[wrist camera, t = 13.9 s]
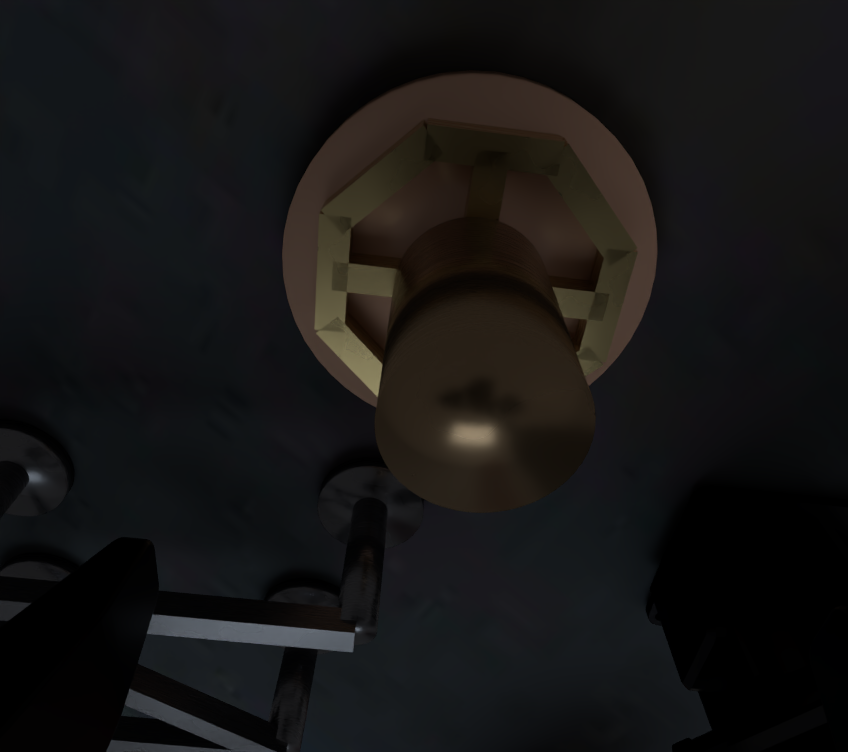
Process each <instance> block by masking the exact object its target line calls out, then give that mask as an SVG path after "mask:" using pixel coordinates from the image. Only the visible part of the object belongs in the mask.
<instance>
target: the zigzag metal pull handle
mask: <svg viewBox="0 0 848 752" xmlns="http://www.w3.org/2000/svg"><path fill="white" fill-rule="evenodd" d="M73 482H74V468H73V464H72V462H71V460H70V458H69V456H68V454H67V453H66V451H65V450H64V449H63V447H62V446H61V445H60V444H59V443H58V442H57V441H55V440H54V439H53V438H52V437H51V436H49V435H48V434H46V433H45V432H43V431H41V430H39V429H37V428H35V427H33V426H30V425H27V424H24V423H21V422H16V421H9V420H0V518H1V517H2V516H3V515H4V513H8V514H12V515H18V516H36V515H41V514H45V513H47V512H50V511H52V510H53V509H55V508H56V507H57V506H58V505H59V504H60V503H61V502H62V500H63V499H64V498H65V496H66V495H67V493H68V492H69V491H70V489H71V487H72V485H73ZM423 503H424V499H423V498H421V497H419V496H418V495H416V494H415V493H413V492H412V491H410V490H409V489H407V488H406V487H405V486H404V485H403V484H402V483H400V482H399V481H398V479H397V478H396V477H395V476H394V475H393V474H392V473H391V471H390V470H389V468H388V467H387V465H386V464H385V462H384V460H383V459H377V458H361V459H355V460H351V461H348V462H346V463H343V464H341V465H339V466H338V467H336V468H335V469H334V470H332V471H331V472H330V473H329V474H328V475H327V477H326V478H325V480H324V482H323V484H322V487H321V490H320V495H319V499H318V505H317V508H318V515H319V518H320V521H321V523H322V525H323V526H324V528H325V529H326V530H327V531H328V532H329V533H330V534H331V535H332V536H333V537H334V538H336V539H337V540H339V541H341V542H342V543H345V544H347V549H346V555H345V561H344V568H343V574H342V580H341V586H340V589H339V588H337V587H336V586H334V585H331V584H329V583H327V582H324V581H320V580H314V579H294V580H289V581H286V582H283V583H281V584H279V585H277V586H275V587H274V588H272V589H271V590H270V591H269V592H268V594H267V595H266V597H265V599H264V600H253V599H243V598H232V597H221V596H211V595H200V594H189V593H178V592H168V591H158V597H157V602H156V605H155V609H154V612H153V615H152V618H151V622H150V625H149V628H148V631H147V634H157V635H168V636H179V637H190V638H201V639H212V640H224V641H235V642H246V643H257V644H268V645H277V646H279V647H281V648H283V649H285V650H284V655H283V659H282V663H281V668H280V672H279V677H278V681H277V686H276V690H275V694H274V699H273V703H272V708H271V712H270V716H269V721H266V720H263V719H261V718H259V717H257V716H254V715H252V714H250V713H248V712H245V711H243V710H241V709H239V708H236V707H234V706H232V705H230V704H227V703H225V702H223V701H220V700H218V699H216V698H214V697H211V696H209V695H207V694H205V693H202V692H200V691H198V690H196V689H193V688H191V687H189V686H187V685H184V684H182V683H180V682H178V681H175V680H173V679H171V678H169V677H166V676H164V675H162V674H160V673H157V672H155V671H153V670H151V669H148V668H146V667H144V666H142V665H139V664H137V667H136V670H135V673H134V676H133V680H132V683H131V686H130V689H129V693H128V696H127V699H126V702H125V705H126V706H129V707H131V708H133V709H136V710H138V711H140V712H143V713H145V714H148V715H150V716H152V717H155V718H157V719H151V718H139V717H128V716H121V717H120V720H119V722H118V725H117V727H116V730H115V732H114V735H113V737H112V740H111V742H110V744H109V747H108V749H107V751H106V752H300V748H301V743H302V737H303V731H304V726H305V720H306V714H307V709H308V703H309V697H310V692H311V686H312V681H313V675H314V669H315V664H316V658H317V654H324V653H328V652H331V651H345V652H353V647H354V645H361V644H366V643H368V642H370V641H372V640H373V639H374V638H375V636H376V634H377V625H378V614H379V604H380V593H381V582H382V571H383V561H384V550H385V549H387V548H391V547H394V546H397V545H399V544H401V543H403V542H405V541H406V540H408V539H409V538H410V537H411V536H413V535H414V533H415V532H416V531H417V530H418V528H419V527H420V524H421V522H422V518H423ZM77 568H78V567H77V566H76V565H74V564H73V563H71V562H69V561H67V560H65V559H62V558H60V557H56V556H53V555H49V554H42V553H27V554H22V555H18V556H16V557H13V558H12V559H10V560H9V561H7V562H6V563H5V565H4V566H3V567H2V569H1V570H0V627H1V626H2V625H3V624H5V623H6V622H7V621H9V620H10V619H11V618H13V617H14V616H15V615H17V614H18V613H19V612H21V611H22V610H23V609H25V608H26V607H27V606H28V605H30V604H31V603H32V602H34V601H35V600H36V599H38V598H39V597H40V596H42V595H43V594H44V593H46V592H47V591H48V590H49V589H51V588H52V587H53V586H55V585H56V584H57V583H59V582H60V581H61V580H63V579H64V578H65V577H67V576H68V575H69V574H71V573H72V572H73V571H74V570H76V569H77Z"/></svg>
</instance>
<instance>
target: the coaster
mask: <svg viewBox="0 0 848 752" xmlns="http://www.w3.org/2000/svg"><path fill="white" fill-rule="evenodd" d="M428 118H432V119H440V120H448V121H456V122H464V123H472V124H480V125H487V126H495V127H503V128H511V129H519V130H527V131H535V132H543V133H551V134H558V135H560V136H561V137H564V138H565V139H566V141H567V142H568V143H569V145H570V146H571V148H572V149H573V151H574V152H575V154H576V155H577V157H578V158H579V160H580V161H581V163H582V164H583V166H584V167H585V169H586V170H587V172H588V173H589V175H590V177H591V178H592V180H593V181H594V183H595V184H596V186H597V187H598V189H599V190H600V192H601V193H602V195H603V196H604V198H605V199H606V201H607V202H608V204H609V205H610V207H611V208H612V210H613V211H614V213H615V214H616V216H617V217H618V219H619V220H620V222H621V223H622V225H623V227H624V228H625V230H626V231H627V233H628V234H629V236H630V237H631V239H632V240H633V242H634V243H635V245H636V246H637V249H636V250H637V251H638V253H637V257H636V260H635V264H634V267H633V271H632V274H631V278H630V281H629V284H628V288H627V291H626V295H625V298H624V302H623V305H622V308H621V312H620V315H619V319H618V322H617V326H616V329H615V333H614V336H613V339H612V343H611V346H610V350H609V353H608V357H607V360H606V362H603V366H602V367H600V368H598V369H597V370H595V371H593V372H592V373H590V374H589V375H587V376H585V378H586V381H587V383H588V386H589V385H590V384H591V383H593V382H594V381H595V380H596V379H597V378H598V377H599V376H601V375H602V374H603V373H604V372H605V371H606V370H607V368H608V367H609V366H610V365H611V364H612V363H613V362H614V361H615V360H616V359H617V357H618V356H619V355H620V353H621V352H622V351H623V349H624V348H625V346H626V345H627V344H628V342H629V341H630V339H631V338H632V336H633V334H634V332H635V330H636V328H637V327H638V325H639V323H640V321H641V319H642V317H643V314H644V311H645V309H646V306H647V304H648V301H649V298H650V295H651V290H652V286H653V282H654V278H655V271H656V261H657V233H656V224H655V219H654V214H653V208H652V204H651V201H650V198H649V195H648V192H647V190H646V187H645V184H644V181H643V179H642V177H641V175H640V174H639V172H638V170H637V168H636V166H635V164H634V162H633V160H632V159H631V157H630V156H629V155H628V153H627V152H626V150H625V149H624V148H623V146H622V145H621V144H620V142H619V141H618V140H617V138H616V137H615V136H614V135H613V134H612V133H611V132H610V131H609V130H608V129H607V128H606V127H605V126H604V125H603V124H602V123H601V122H600V121H599V120H598V119H597V118H595V117H594V116H593V115H592V114H591V113H590V112H589V111H587V110H586V109H584V108H583V107H582V106H580V105H579V104H578V103H576V102H575V101H574V100H572V99H571V98H569V97H568V96H566V95H564V94H562V93H560V92H558V91H556V90H555V89H553V88H551V87H549V86H547V85H544V84H541V83H539V82H536V81H533V80H530V79H527V78H525V77H521V76H516V75H511V74H506V73H501V72H496V71H478V70H465V71H453V72H443V73H438V74H434V75H430V76H425V77H421V78H417V79H414V80H412V81H409V82H407V83H404V84H401V85H399V86H396V87H394V88H392V89H390V90H388V91H386V92H384V93H383V94H381V95H379V96H377V97H375V98H374V99H372V100H370V101H369V102H367V103H366V104H365V105H363V106H362V107H361V108H359V109H358V110H357V111H355V112H354V113H353V114H351V115H350V116H349V117H348V118H347V119H346V120H345V121H344V122H343V123H342V124H341V125H340V126H339V127H338V128H337V129H336V130H335V131H334V132H333V133H332V134H331V135H330V137H329V138H328V139H327V141H326V142H325V143H324V145H323V146H322V147H321V149H320V150H319V151H318V153H317V154H316V155H315V157H314V158H313V160H312V161H311V163H310V165H309V166H308V168H307V170H306V172H305V174H304V175H303V177H302V179H301V181H300V183H299V185H298V187H297V189H296V192H295V195H294V197H293V200H292V203H291V205H290V208H289V212H288V217H287V221H286V225H285V230H284V239H283V251H282V260H283V277H284V283H285V288H286V293H287V298H288V302H289V305H290V308H291V311H292V313H293V316H294V319H295V322H296V324H297V326H298V328H299V330H300V332H301V334H302V336H303V338H304V340H305V342H306V343H307V345H308V346H309V347H310V349H311V350H312V352H313V353H314V355H315V356H316V358H317V359H318V360H319V361H320V363H321V364H322V365H323V366H324V367H325V368H326V369H327V371H328V372H329V373H330V374H331V375H332V376H333V377H334V378H335V379H336V380H338V381H339V382H340V383H341V384H342V385H343V386H344V387H345V388H346V389H348V390H349V391H351V392H352V393H353V394H355V395H356V396H358V397H359V398H361V399H362V400H363V401H365V402H367V403H369V404H371V405H373V406H374V407H376V406H377V399H378V397H377V396H376V395H375V394H374V393H373V392H372V391H371V390H370V389H369V388H368V387H367V386H366V385H365V384H364V383H363V381H362V380H361V379H360V378H359V377H358V376H357V375H356V374H355V373H354V372H353V371H352V370H351V369H350V368H349V367H348V366H347V365H346V364H345V363H344V362H343V361H342V360H341V359H340V358H339V357H338V356H337V355H336V354H335V352H334V351H333V350H332V349H331V348H330V347H329V346H328V345H327V344H326V343H325V342H324V341H323V340H322V339H321V338H320V337H319V336H318V335H317V334H316V331H317V330H315V305H316V279H317V254H318V229H319V213H320V211H321V208H322V206H323V204H324V202H325V200H327V199H328V198H329V197H330V196H331V195H333V194H334V193H335V192H336V191H337V190H339V189H340V188H341V187H342V186H344V185H345V184H346V183H347V182H348V181H350V180H351V179H352V178H353V177H354V176H356V175H357V174H358V173H359V172H360V171H362V170H363V169H364V168H365V167H366V166H368V165H369V164H370V163H371V162H372V161H374V160H375V159H376V158H377V157H379V156H380V155H381V154H382V153H383V152H385V151H386V150H387V149H388V148H389V147H391V146H392V145H393V144H394V143H395V142H397V141H398V140H399V139H400V138H401V137H403V136H404V135H405V134H406V133H407V132H409V131H410V130H411V129H412V128H414V127H415V126H416V125H417V124H418V123H420V122H421V121H422V120H423V119H424V120H425V121H426V123H427V124H428ZM470 172H471V166H470V165H462V164H454V163H446V162H438V161H434V162H433V163H432V164H431V165H429V166H428V167H427V168H426V169H424V170H423V171H422V172H421V173H419V174H418V175H417V176H416V177H414V178H413V179H412V180H411V181H409V182H408V183H407V184H406V185H404V186H403V187H402V188H401V189H399V190H398V191H397V192H396V193H394V194H393V195H392V196H391V197H389V198H388V199H387V200H385V201H384V202H383V203H382V204H380V205H379V206H378V207H377V208H375V209H374V210H373V211H372V212H370V213H369V214H368V215H367V216H365V217H364V218H363V219H362V220H360V221H359V222H358V223H357V224H355V225H354V230H353V245H352V252H353V253H362V254H370V255H379V256H388V257H396V258H402V257H403V255H404V253H405V252H406V251H407V249H408V248H409V246H410V245H411V244H412V243H413V242H414V241H415V240H416V239H417V238H418V237H419V236H420V235H422V234H423V233H424V232H426V231H427V230H429V229H430V228H432V227H434V226H436V225H438V224H440V223H443V222H446V221H449V220H452V219H457V218H463V217H464V212H465V206H466V199H467V192H468V186H469V179H470ZM499 221H500V222H503V223H505V224H507V225H509V226H511V227H513V228H515V229H516V230H518V231H519V232H521V233H522V234H523V235H524V236H525V237H526V238H527V239H529V241H530V242H531V243H532V244H533V245H534V246H535V248H536V249H537V251H538V253H539V254H540V256H541V258H542V261H543V263H544V265H545V268H546V271H547V274H548V275H549V276H558V277H566V278H575V279H583V280H589V279H590V275H591V271H592V267H593V263H594V259H595V255H596V252H597V247H596V246H595V244H594V243H593V242H592V240H591V239H590V237H589V236H588V234H587V233H586V231H585V230H584V229H583V227H582V226H581V224H580V223H579V221H578V220H577V218H576V217H575V216H574V214H573V213H572V211H571V210H570V208H569V207H568V205H567V204H566V202H565V201H564V200H563V198H562V197H561V195H560V194H559V192H558V191H557V189H556V188H555V187H554V185H553V184H552V182H551V181H550V179H549V178H548V176H547V175H543V174H535V173H527V172H519V171H510V170H508V171H507V176H506V182H505V188H504V193H503V199H502V204H501V210H500V216H499ZM391 301H392V297H385V296H376V295H368V294H359V293H350V292H349V305H348V312H349V313H350V314H351V315H352V316H353V317H354V318H355V319H356V320H357V322H358V323H359V324H360V325H361V326H362V327H363V328H364V329H365V330H366V331H367V332H368V333H369V335H370V336H371V337H372V338H373V339H374V340H375V341H376V342H377V343H378V344H379V345H380V346H381V348H382V349H383V350H385V343H386V336H387V329H388V322H389V315H390V308H391ZM563 318H564V320H565V323H566V326H567V329H568V331H569V334H570V337H571V339H572V338H574V337H575V333H576V329H577V325H578V321H579V319H576V318H568V317H563Z"/></svg>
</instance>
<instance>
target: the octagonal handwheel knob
mask: <svg viewBox="0 0 848 752" xmlns="http://www.w3.org/2000/svg"><path fill="white" fill-rule="evenodd" d="M434 161H438V162H446V163H454V164H462V165H470V166H471V172H470V179H469V186H468V192H467V199H466V206H465V212H464V217H463V218H457V219H452V220H449V221H446V222H443V223H440V224H438V225H436V226H434V227H432V228H430V229H429V230H427V231H426V232H424V233H423V234H422V235H420V236H419V237H418V238H417V239H416V240H415V241H414V242H413V243H412V244H411V245H410V246H409V248H408V249H407V251H406V252H405V253H404V255H403V257H402V258H396V257H388V256H379V255H370V254H362V253H353V252H352V245H353V230H354V225H355V224H357V223H358V222H359V221H360V220H362V219H363V218H364V217H365V216H367V215H368V214H369V213H370V212H372V211H373V210H374V209H375V208H377V207H378V206H379V205H380V204H382V203H383V202H384V201H385V200H387V199H388V198H389V197H391V196H392V195H393V194H394V193H396V192H397V191H398V190H399V189H401V188H402V187H403V186H404V185H406V184H407V183H408V182H409V181H411V180H412V179H413V178H414V177H416V176H417V175H418V174H419V173H421V172H422V171H423V170H424V169H426V168H427V167H428V166H429V165H431V164H432V163H433V162H434ZM508 170H510V171H519V172H527V173H535V174H543V175H547V176H548V178H549V179H550V181H551V182H552V184H553V185H554V187H555V188H556V189H557V191H558V192H559V194H560V195H561V197H562V198H563V200H564V201H565V202H566V204H567V205H568V207H569V208H570V210H571V211H572V213H573V214H574V216H575V217H576V218H577V220H578V221H579V223H580V224H581V226H582V227H583V229H584V230H585V231H586V233H587V234H588V236H589V237H590V239H591V240H592V242H593V243H594V244H595V246H596V247H597V252H596V255H595V259H594V263H593V267H592V271H591V275H590V279H589V280H583V279H575V278H566V277H558V276H549V275H548V274H547V271H546V268H545V265H544V263H543V261H542V258H541V256H540V254H539V253H538V251H537V249H536V248H535V246H534V245H533V244H532V243H531V242H530V241H529V239H527V238H526V237H525V236H524V235H523V234H522V233H521V232H519V231H518V230H516V229H515V228H513V227H511V226H509V225H507V224H505V223H503V222H500V221H499V216H500V210H501V204H502V199H503V193H504V188H505V182H506V176H507V171H508ZM636 249H637V246H636V245H635V243H634V242H633V240H632V239H631V237H630V236H629V234H628V233H627V231H626V230H625V228H624V227H623V225H622V223H621V222H620V220H619V219H618V217H617V216H616V214H615V213H614V211H613V210H612V208H611V207H610V205H609V204H608V202H607V201H606V199H605V198H604V196H603V195H602V193H601V192H600V190H599V189H598V187H597V186H596V184H595V183H594V181H593V180H592V178H591V177H590V175H589V173H588V172H587V170H586V169H585V167H584V166H583V164H582V163H581V161H580V160H579V158H578V157H577V155H576V154H575V152H574V151H573V149H572V148H571V146H570V145H569V143H568V142H567V141H566V139H565V138H564V137H561V136H560V135H558V134H551V133H543V132H535V131H527V130H519V129H511V128H503V127H495V126H487V125H480V124H472V123H464V122H456V121H448V120H440V119H432V118H428V124H427V123H426V121H425V120H424V119H423V120H422V121H421V122H420V123H418V124H417V125H416V126H415V127H414V128H412V129H411V130H410V131H409V132H407V133H406V134H405V135H404V136H403V137H401V138H400V139H399V140H398V141H397V142H395V143H394V144H393V145H392V146H391V147H389V148H388V149H387V150H386V151H385V152H383V153H382V154H381V155H380V156H379V157H377V158H376V159H375V160H374V161H372V162H371V163H370V164H369V165H368V166H366V167H365V168H364V169H363V170H362V171H360V172H359V173H358V174H357V175H356V176H354V177H353V178H352V179H351V180H350V181H348V182H347V183H346V184H345V185H344V186H342V187H341V188H340V189H339V190H337V191H336V192H335V193H334V194H333V195H331V196H330V197H329V198H328V199H327V200H325V202H324V204H323V206H322V208H321V211H320V213H319V229H318V254H317V279H316V305H315V330H317V331H316V334H317V335H318V336H319V337H320V338H321V339H322V340H323V341H324V342H325V343H326V344H327V345H328V346H329V347H330V348H331V349H332V350H333V351H334V352H335V354H336V355H337V356H338V357H339V358H340V359H341V360H342V361H343V362H344V363H345V364H346V365H347V366H348V367H349V368H350V369H351V370H352V371H353V372H354V373H355V374H356V375H357V376H358V377H359V378H360V379H361V380H362V381H363V383H364V384H365V385H366V386H367V387H368V388H369V389H370V390H371V391H372V392H373V393H374V394H375V395H376V396H377V397H378V399H377V406H376V413H375V435H376V442H377V445H378V448H379V451H380V454H381V456H382V458H383V460H384V462H385V464H386V465H387V467H388V468H389V470H390V471H391V473H392V474H393V475H394V476H395V477H396V478H397V479H398V481H399V482H400V483H402V484H403V485H404V486H405V487H406V488H407V489H409V490H410V491H412V492H413V493H415V494H416V495H418V496H419V497H421V498H423V499H425V500H427V501H429V502H431V503H434V504H436V505H439V506H442V507H445V508H449V509H453V510H458V511H464V512H477V513H486V512H498V511H505V510H510V509H514V508H518V507H522V506H524V505H527V504H530V503H533V502H535V501H537V500H539V499H541V498H543V497H545V496H547V495H548V494H550V493H551V492H553V491H555V490H556V489H557V488H559V487H560V486H561V485H562V484H564V483H565V482H566V481H567V480H568V479H569V478H570V477H571V476H572V475H573V474H574V473H575V471H576V470H577V469H578V467H579V466H580V465H581V463H582V462H583V460H584V458H585V457H586V455H587V453H588V451H589V448H590V446H591V443H592V440H593V435H594V431H595V418H596V417H595V407H594V402H593V399H592V395H591V392H590V389H589V386H588V383H587V381H586V378H585V376H587V375H589V374H590V373H592V372H593V371H595V370H597V369H598V368H600V367H602V366H603V362H606V360H607V357H608V353H609V350H610V346H611V343H612V339H613V336H614V333H615V329H616V326H617V322H618V319H619V315H620V312H621V308H622V305H623V302H624V298H625V295H626V291H627V288H628V284H629V281H630V278H631V274H632V271H633V267H634V264H635V260H636V257H637V253H638V251H637V250H636ZM349 292H350V293H359V294H368V295H376V296H385V297H392V301H391V308H390V315H389V322H388V329H387V336H386V343H385V350H383V349H382V348H381V346H380V345H379V344H378V343H377V342H376V341H375V340H374V339H373V338H372V337H371V336H370V335H369V333H368V332H367V331H366V330H365V329H364V328H363V327H362V326H361V325H360V324H359V323H358V322H357V320H356V319H355V318H354V317H353V316H352V315H351V314H350V313H349V312H348V305H349ZM563 317H568V318H576V319H579V321H578V325H577V329H576V333H575V337H574V338H572V339H571V337H570V334H569V331H568V329H567V326H566V323H565V320H564V318H563Z"/></svg>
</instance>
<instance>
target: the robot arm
mask: <svg viewBox="0 0 848 752" xmlns="http://www.w3.org/2000/svg"><path fill="white" fill-rule="evenodd" d="M708 499H712V500H711V501H709V502H707V503H704V501H706V500H708ZM158 591H159V582H158V574H157V565H156V557H155V549H154V545H153V543H152V542H151V541H150V540H147V539H138V538H127V537H121V538H118V539H116V540H114V541H113V542H111V543H110V544H109V545H107V546H106V547H105V548H103V549H102V550H101V551H99V552H98V553H97V554H96V555H94V556H93V557H92V558H90V559H89V560H88V561H86V562H85V563H84V564H82V565H81V566H80V567H78V568H77V569H76V570H74V571H73V572H72V573H71V574H69V575H68V576H67V577H65V578H64V579H63V580H61V581H60V582H59V583H57V584H56V585H55V586H53V587H52V588H51V589H49V590H48V591H47V592H46V593H44V594H43V595H42V596H40V597H39V598H38V599H36V600H35V601H34V602H32V603H31V604H30V605H28V606H27V607H26V608H25V609H23V610H22V611H21V612H19V613H18V614H17V615H15V616H14V617H13V618H11V619H10V620H9V621H7V622H6V623H5V624H3V625H2V626H1V627H0V752H106V751H107V749H108V747H109V744H110V742H111V740H112V737H113V735H114V732H115V730H116V727H117V725H118V722H119V720H120V717H121V714H122V711H123V708H124V705H125V702H126V699H127V696H128V693H129V689H130V686H131V683H132V680H133V676H134V673H135V670H136V667H137V664H138V660H139V657H140V654H141V651H142V647H143V644H144V641H145V638H146V635H147V631H148V628H149V625H150V622H151V618H152V615H153V612H154V609H155V605H156V602H157V597H158ZM650 592H651V596H650V598H649V600H648V603H647V605H646V613H647V616H648V619H649V621H650V622H651V623H652V624H655V625H661V626H662V627H663V630H664V633H665V636H666V639H667V641H668V644H669V647H670V650H671V653H672V656H673V659H674V662H675V665H676V668H677V671H678V673H679V676H680V679H681V682H682V683H683V685H684V686H685V687H686V688H687V689H688V690H692V691H698V693H699V695H700V698H701V701H702V704H703V706H704V709H705V712H706V715H707V717H708V720H709V723H710V726H711V729H712V731H709V732H707V733H705V734H703V735H701V736H699V737H696V738H694V739H692V740H691V739H690V738H686V739H684V740H682V741H679V742H677V743H675V744H673V745H672V751H673V752H848V500H844V499H834V498H824V497H815V496H805V495H795V494H786V493H776V492H766V491H757V490H747V489H737V488H728V487H718V486H703V487H700V488H698V489H697V490H696V491H694V493H693V494H692V495H691V498H690V500H689V503H688V505H687V508H686V510H685V512H684V515H683V517H682V520H681V522H680V525H679V527H678V530H677V532H676V534H675V537H673V538H672V539H671V540H670V541H669V543H668V545H667V548H666V550H665V552H664V555H663V557H662V560H661V562H660V565H659V567H658V570H657V572H656V575H655V577H654V580H653V582H652V585H651V587H650Z"/></svg>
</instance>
